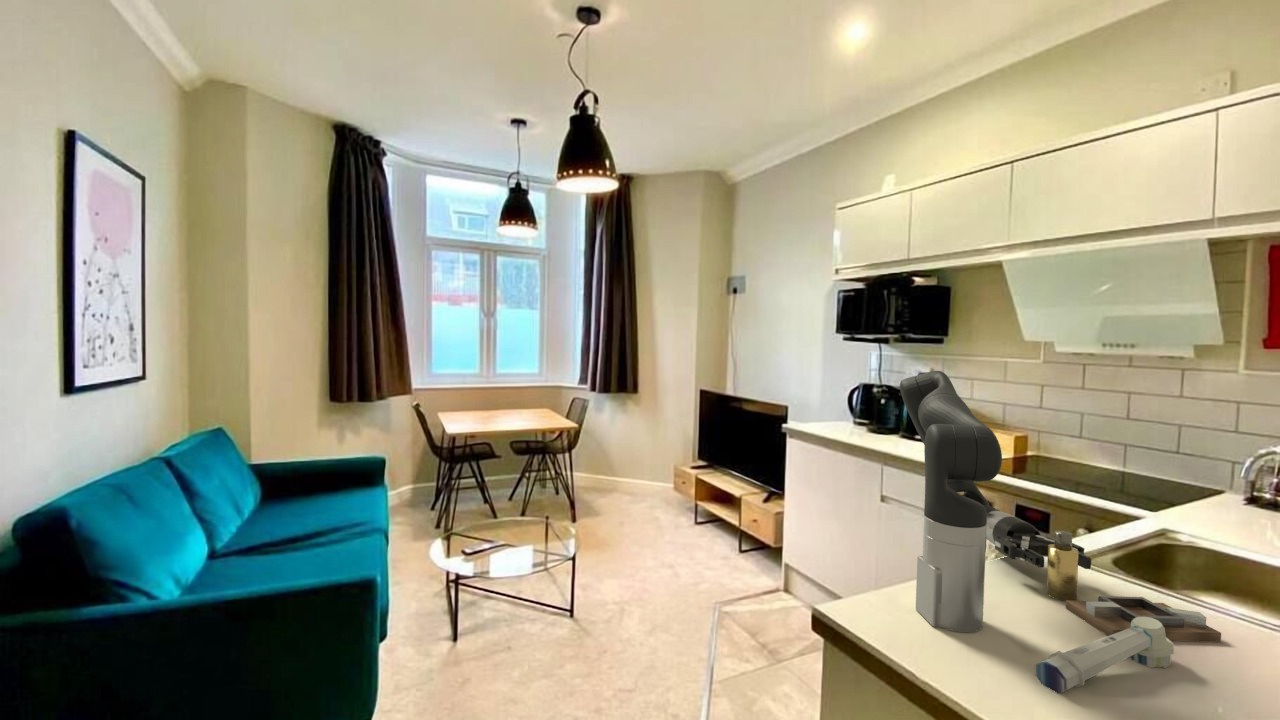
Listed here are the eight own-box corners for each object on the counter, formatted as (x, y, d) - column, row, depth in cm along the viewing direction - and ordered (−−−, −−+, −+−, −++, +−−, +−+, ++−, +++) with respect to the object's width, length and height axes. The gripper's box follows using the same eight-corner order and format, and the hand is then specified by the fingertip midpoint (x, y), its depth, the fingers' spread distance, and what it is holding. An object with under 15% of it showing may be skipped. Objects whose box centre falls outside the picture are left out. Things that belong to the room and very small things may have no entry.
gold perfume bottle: (1058, 601, 101) (1060, 536, 100) (1041, 590, 105) (1042, 528, 105) (1083, 601, 100) (1085, 536, 100) (1064, 590, 105) (1066, 528, 105)
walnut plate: (1112, 638, 88) (1113, 629, 88) (1065, 608, 98) (1065, 600, 98) (1220, 642, 87) (1221, 632, 87) (1162, 611, 97) (1162, 602, 97)
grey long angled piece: (1028, 652, 77) (1139, 602, 85) (1031, 697, 77) (1140, 642, 86) (1069, 673, 72) (1181, 618, 80) (1071, 721, 73) (1183, 661, 81)
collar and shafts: (1108, 625, 89) (1109, 614, 89) (1072, 603, 97) (1073, 593, 97) (1210, 628, 89) (1211, 617, 89) (1166, 606, 96) (1167, 596, 96)
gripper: (976, 515, 118) (1027, 542, 102) (1043, 516, 118) (1105, 544, 102) (975, 549, 118) (1026, 582, 102) (1041, 551, 118) (1103, 584, 102)
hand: (1065, 563), depth 102 cm, fingers open, 8 cm apart
